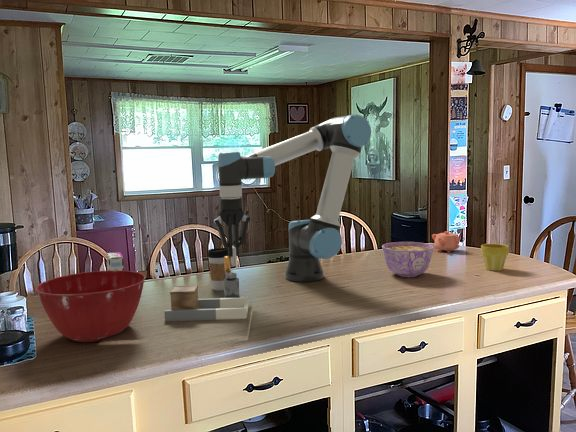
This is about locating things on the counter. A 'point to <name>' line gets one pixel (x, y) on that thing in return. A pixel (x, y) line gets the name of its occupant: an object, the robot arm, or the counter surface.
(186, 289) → the crate
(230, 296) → the winch
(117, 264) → the candy bar box
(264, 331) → the counter surface
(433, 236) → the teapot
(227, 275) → the crank
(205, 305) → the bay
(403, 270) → the bowl of food
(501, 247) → the plant pot
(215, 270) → the coffee cup
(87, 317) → the mixing bowl
